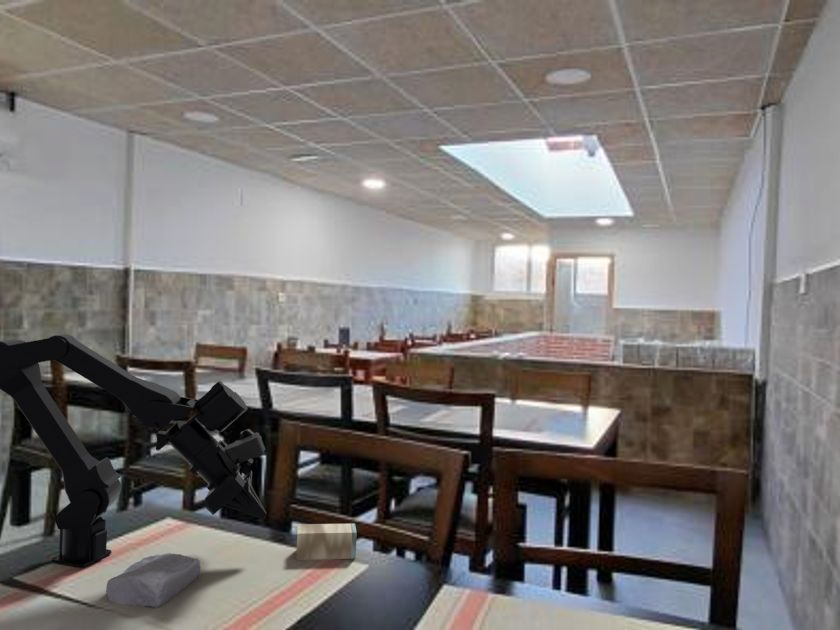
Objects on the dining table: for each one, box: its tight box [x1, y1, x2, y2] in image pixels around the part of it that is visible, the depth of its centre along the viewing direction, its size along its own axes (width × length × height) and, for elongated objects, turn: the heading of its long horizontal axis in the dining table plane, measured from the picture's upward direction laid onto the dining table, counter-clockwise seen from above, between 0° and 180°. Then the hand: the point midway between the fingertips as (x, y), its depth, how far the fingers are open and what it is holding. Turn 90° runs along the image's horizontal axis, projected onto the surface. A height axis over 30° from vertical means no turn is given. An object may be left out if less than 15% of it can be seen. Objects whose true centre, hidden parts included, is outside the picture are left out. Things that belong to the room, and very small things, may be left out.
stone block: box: [105, 552, 201, 609], centre depth 97 cm, size 12×5×10 cm
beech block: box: [296, 523, 358, 561], centre depth 112 cm, size 4×4×10 cm
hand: (264, 516), depth 110 cm, fingers closed
